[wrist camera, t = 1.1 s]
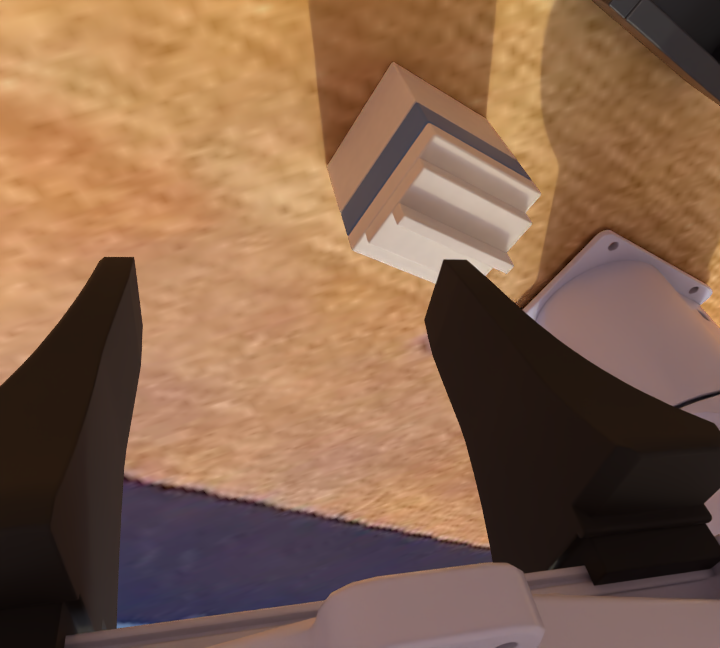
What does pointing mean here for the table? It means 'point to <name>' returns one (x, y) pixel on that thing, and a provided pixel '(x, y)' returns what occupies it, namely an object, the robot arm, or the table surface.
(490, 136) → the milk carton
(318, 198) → the table surface
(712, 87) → the compartment tray
